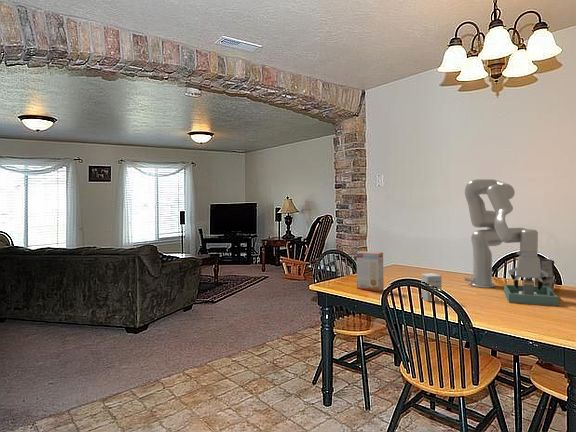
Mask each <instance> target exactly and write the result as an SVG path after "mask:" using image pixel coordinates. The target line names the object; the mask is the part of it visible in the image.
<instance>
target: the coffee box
mask: <svg viewBox="0 0 576 432" xmlns="http://www.w3.org/2000/svg"><path fill="white" fill-rule="evenodd" d="M539 259H540V266H541V270H543V271H545V272H547V273H549V275H548V276H547V278H546V279H545V280H544V281H543V282H542V287H549V288H550V289H551V290H552V291H553V292H554V291H555V260H552V259H550V258H539ZM543 276H544V274H543V273H541V277H540V278H542V277H543ZM538 281H539V279H538V278H534V286H538Z"/></svg>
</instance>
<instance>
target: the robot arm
mask: <svg viewBox="0 0 576 432" xmlns="http://www.w3.org/2000/svg"><path fill="white" fill-rule="evenodd" d="M515 194H516V193H515V188H514V187H513V186H512V185H511V184H509V183H506V182H503V181H500V180H497V179H491V178H489V179H487V178H486V179H485V178H484V179H481V178H480V179H472V180H470V181H468V183H466V185H465V188H464V196H465V199H466V202H467V206H468V210H469V216H470V218H469V219H470V221H471V225H472V226H473V227H475V228H479V230H475V231H474V232H473V233H472V234H471V236H470V237H471V238H470V239H471V240H470V241H471V245H472V253H473V255H472V257H473V259H472V262H473V263H472V265H473V266H472V268H473V269H472V273H473V274H472V277H464V281H465V282H470V286H472V287H475V288H483V289H484V288H487V289H490V288H495V286H496V285H495V283H494V282H493V254H492V253H493V252H492V251H491V249H490V247H497V246H500V245H501V244H502V243H505V244H512V243H513V244H515V243H519V251H516V255H518V256H517V257H518V258H517V262H516V267H514V268H512V269H509V270H507V272H508V274H509V275H510V277H511V278H512V279H513V281H514V282H513V283H514V284H513V285H514V286H516V288H517V289H518V285H519V279H520V278H524V279H525V278H531V279H535V278H538V279H539V281H538V289H539V290H541V288H542V282H543V281H544V280H545V279H546V278H547V276H548V275H549V273H547V272H545V271H543V270H541V266H540V259H541V258H540V257H538V249H539V248H538V247H539V245H538V244H539V232H538V231H537V229H532V228H530V229H529V228H523V227H508V225H507V222H506V216H508V215H509V214H510V213H512V212H513V210H514V208H513V207H514V206H513V205H512V203H511V201H510V200H511V199H513V198H514V196H515ZM480 195H487V197H488V199H489V201H490V203H491V206H492V207H493V209H494V210H487V208H486V205H485V201H484V200H483V197H481V196H480ZM480 228H486V229H480ZM514 272H516V274H515V275H514V274H513V273H514ZM541 273H543V274H544V276H543V277H542V278H540V277H541Z"/></svg>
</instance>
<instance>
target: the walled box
mask: <svg viewBox="0 0 576 432" xmlns="http://www.w3.org/2000/svg"><path fill="white" fill-rule="evenodd" d="M503 293H504V295H505V297H506V299H507V302H508V303H512V304H513V303H514V304H528V305H540V306H554V307H558V306H559V296H558V295H557V294H556V293H555V292H554V291H552V290H551V289H550V288H549V287H542V288H541V290H539V289H538V286H535V285H534V295H526V294H523V285H520V284H518V289H517V288H516V286H514V284H503Z"/></svg>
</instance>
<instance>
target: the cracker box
mask: <svg viewBox="0 0 576 432" xmlns="http://www.w3.org/2000/svg"><path fill="white" fill-rule="evenodd" d="M384 286H385V284H384V252H381V251H380V252H379V251H369V250H364V251H363V250H360V251H356V289H359V290H365V291H372V292H381V291H384V289H385V287H384Z"/></svg>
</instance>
